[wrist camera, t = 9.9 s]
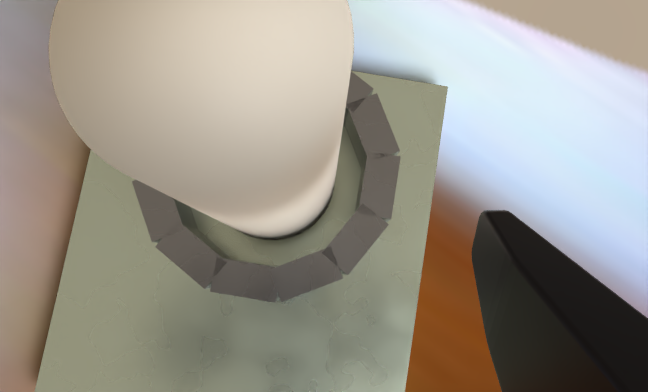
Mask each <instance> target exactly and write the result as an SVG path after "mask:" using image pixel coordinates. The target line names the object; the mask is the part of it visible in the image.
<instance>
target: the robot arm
mask: <svg viewBox="0 0 648 392" xmlns="http://www.w3.org/2000/svg"><path fill="white" fill-rule="evenodd" d="M472 262H473V268H474V273H475V279H476V285H477V290H478V296H479V301H480V307H481V312H482V318H483V323H484V329H485V334H486V339H487V343H488V347H489V350H490V354H491V357H492V361H493V364H494V367H495V370H496V373H497V377H498V380H499V383H500V386H501V390H502V392H648V318H647V317H645V316H644V315H643V314H641V313H640V312H639V311H638V310H636V309H635V308H634V307H632V306H631V305H630V304H628V303H627V302H626V301H625V300H623V299H622V298H621V297H619V296H618V295H617V294H616V293H614V292H613V291H612V290H610V289H609V288H608V287H606V286H605V285H604V284H603V283H601V282H600V281H599V280H597V279H596V278H595V277H594V276H592V275H591V274H590V273H588V272H587V271H586V270H584V269H583V268H582V267H581V266H579V265H578V264H577V263H575V262H574V261H573V260H572V259H570V258H569V257H568V256H566V255H565V254H564V253H562V252H561V251H560V250H559V249H557V248H556V247H555V246H553V245H552V244H551V243H549V242H548V241H547V240H546V239H544V238H543V237H542V236H540V235H539V234H538V233H537V232H535V231H534V230H533V229H531V228H530V227H529V226H527V225H526V224H525V223H524V222H522V221H521V220H520V219H518V218H517V217H516V216H515V215H513V214H512V213H510V212H509V211H507V210H485V211H483V212H482V213H481V215H480V217H479V220H478V225H477V229H476V233H475V238H474V242H473V247H472Z"/></svg>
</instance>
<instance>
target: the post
mask: <svg viewBox="0 0 648 392" xmlns="http://www.w3.org/2000/svg"><path fill="white" fill-rule="evenodd" d="M353 53H354V32H353V24H352V17H351V12H350V9H349V5H348V1H347V0H58V3H57V5H56V8H55V11H54V15H53V19H52V24H51V28H50V38H49V67H50V72H51V78H52V83H53V87H54V90H55V93H56V96H57V99H58V102H59V104H60V106H61V108H62V110H63V112H64V114H65V116H66V118H67V120H68V122H69V123H70V125H71V126H72V127H73V129H74V130H75V132H76V133H77V135H78V136H79V137H80V138H81V139H82V141H83V142H84V143H85V144H86V145H87V146H88V147H89V148H90V149H91V150H92V151H93V152H94V153H95V154H96V155H98V156H99V157H100V158H101V159H103V160H104V161H105V162H106V163H108V164H109V165H111V166H112V167H114V168H116V169H117V170H119V171H121V172H122V173H124V174H126V175H128V176H130V177H132V178H134V179H136V180H138V181H140V182H142V183H144V184H146V185H148V186H150V187H152V188H154V189H156V190H158V191H160V192H162V193H164V194H166V195H168V196H170V197H172V198H174V199H176V200H178V201H180V202H182V203H184V204H186V205H188V206H190V207H192V208H194V209H196V210H198V211H200V212H202V213H204V214H206V215H208V216H210V217H212V218H214V219H216V220H218V221H220V222H222V223H224V224H226V225H228V226H230V227H232V228H234V229H236V230H238V231H240V232H242V233H244V234H246V235H249V236H251V237H254V238H258V239H263V240H282V239H287V238H291V237H294V236H296V235H299V234H301V233H302V232H304V231H306V230H307V229H309V228H310V227H311V226H313V225H314V224H315V223H316V222H317V221H318V220H319V219H320V218H321V216H322V215H323V214H324V212H325V211H326V209H327V207H328V205H329V203H330V201H331V198H332V195H333V191H334V184H335V177H336V170H337V164H338V157H339V150H340V143H341V136H342V129H343V122H344V115H345V108H346V101H347V95H348V88H349V81H350V74H351V67H352V60H353Z"/></svg>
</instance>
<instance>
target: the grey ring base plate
mask: <svg viewBox="0 0 648 392" xmlns="http://www.w3.org/2000/svg"><path fill="white" fill-rule="evenodd" d="M447 88H448V87H447V86H441V85H435V84H429V83H422V82H416V81H410V80H404V79H398V78H392V77H386V76H380V75H374V74H368V73H362V72H355V71H351V74H350V81H349V88H348V95H347V101H346V108H345V115H344V122H343V129H342V136H341V143H340V150H339V157H338V164H337V170H336V177H335V184H334V191H333V195H332V198H331V201H330V203H329V205H328V207H327V209H326V211H325V212H324V214H323V215H322V216H321V218H320V219H319V220H318V221H317V222H316V223H315V224H314V225H313V226H311V227H310V228H309V229H307V230H306V231H304V232H302V233H301V234H299V235H296V236H294V237H291V238H287V239H282V240H263V239H258V238H254V237H251V236H249V235H246V234H244V233H242V232H240V231H238V230H236V229H234V228H232V227H230V226H228V225H226V224H224V223H222V222H220V221H218V220H216V219H214V218H212V217H210V216H208V215H206V214H204V213H202V212H200V211H198V210H196V209H194V208H192V207H190V206H188V205H186V204H184V203H182V202H180V201H178V200H176V199H174V198H172V197H170V196H168V195H166V194H164V193H162V192H160V191H158V190H156V189H154V188H152V187H150V186H148V185H146V184H144V183H142V182H140V181H138V180H136V179H134V178H132V177H130V176H128V175H126V174H124V173H122V172H121V171H119V170H117V169H116V168H114V167H112V166H111V165H109V164H108V163H106V162H105V161H104V160H103V159H101V158H100V157H99V156H98V155H96V154H95V153H94V152H93V151H92V150H91V151H90V155H89V159H88V164H87V168H86V172H85V177H84V181H83V185H82V189H81V194H80V198H79V202H78V207H77V211H76V215H75V220H74V224H73V228H72V233H71V237H70V241H69V246H68V250H67V254H66V259H65V263H64V267H63V271H62V276H61V280H60V284H59V289H58V293H57V297H56V302H55V306H54V310H53V315H52V319H51V323H50V328H49V332H48V336H47V341H46V345H45V349H44V354H43V358H42V362H41V366H40V371H39V375H38V379H37V384H36V388H35V392H405V386H406V379H407V372H408V365H409V358H410V351H411V344H412V337H413V330H414V323H415V315H416V308H417V301H418V294H419V287H420V280H421V273H422V266H423V259H424V252H425V244H426V237H427V230H428V223H429V216H430V209H431V202H432V195H433V188H434V181H435V174H436V166H437V159H438V152H439V145H440V138H441V131H442V124H443V117H444V110H445V103H446V95H447Z"/></svg>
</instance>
